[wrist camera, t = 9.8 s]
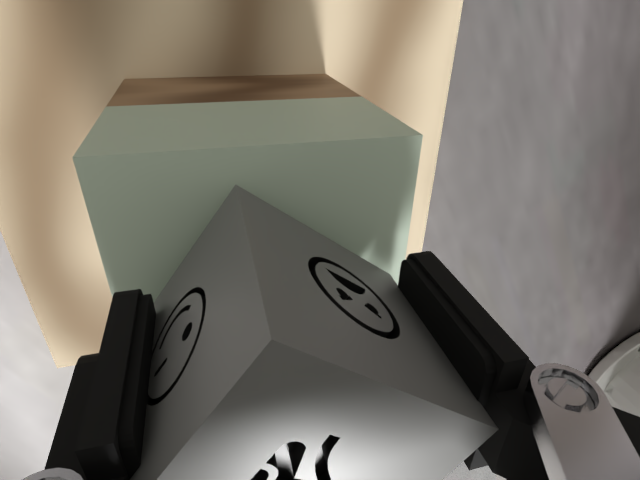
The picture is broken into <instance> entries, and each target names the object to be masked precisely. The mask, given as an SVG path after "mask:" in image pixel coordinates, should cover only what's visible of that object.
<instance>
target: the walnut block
mask: <svg viewBox="0 0 640 480" xmlns="http://www.w3.org/2000/svg"><path fill="white" fill-rule="evenodd" d="M336 97H361V96H360V95H359V94H357V93H356V92H354V91H352V90H351V89H349V88H348V87H346V86H344V85H343V84H341V83H340V82H338V81H337V80H335V79H333V78H332V77H330V76H329V75H327V74H295V75H256V76H216V77H177V78H138V79H124V80H123V82H122V83H121V85H120V86H119V88H118V89H117V91H116V92H115V94H114V95H113V97H112V98H111V100H110V101H109V103H108V104H107V106H132V105H158V104H183V103H209V102H234V101H260V100H285V99H311V98H336ZM107 106H106V107H107Z"/></svg>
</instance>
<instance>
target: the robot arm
mask: <svg viewBox="0 0 640 480" xmlns="http://www.w3.org/2000/svg"><path fill="white" fill-rule="evenodd" d="M398 288H399V289H400V291H401V292H402V293H403V295H404V296H405V298H406V299H407V301H408V302H409V303H410V305H411V306H412V308H413V309H414V311H415V312H416V314H417V315H418V316H419V318H420V319H421V321H422V322H423V324H424V325H425V326H426V328H427V329H428V331H429V332H430V334H431V335H432V336H433V338H434V339H435V341H436V342H437V344H438V345H439V346H440V348H441V349H442V351H443V352H444V354H445V355H446V356H447V358H448V359H449V361H450V362H451V364H452V365H453V366H454V368H455V369H456V371H457V372H458V374H459V375H460V376H461V378H462V379H463V381H464V382H465V384H466V385H467V386H468V388H469V389H470V391H471V392H472V394H473V395H474V396H475V398H476V399H477V401H478V402H480V403H481V405H482V406H483V408H484V409H485V410H486V412H487V413H488V415H489V416H490V418H491V419H492V420H493V422H494V423H495V425H496V426H497V428H498V430H497V431H496V432H495V433H494V434H493V435H492V436H491V437H490V438H489V439H487V440H486V441H485V442H484V443H483V444H482V445H481V446H480V447H479V448H477V449H476V450H475V451H474V452H473V453H472V454H471V455H470V456H469V457H467V458H466V459H465V460H464V462H465V464H466V466H467V467H468V469H469V470H472V469H476V468H479V467H483V466H487V465H488V466H489V467H490V469H491V471H492V472H493V473H495V474H496V477H497V480H640V332H639V333H637V334H635V335H633V336H632V337H630V338H628V339H627V340H625V341H623V342H622V343H621V344H619V345H618V346H617V347H615V348H614V349H613V350H612V351H610V352H609V353H608V354H607V355H606V356H605V357H604V358H603V359H602V360H601V361H600V362H599V363H598V364H597V365H596V366H595V367H594V369H593V370H592V371H591V373H590V374H589V375H588V376H587V375H586V374H584V373H582V372H581V371H579V370H577V369H574V368H572V367H569V366H566V365H561V364H557V363H545V364H542V365H539V366H537V367H535V366H534V365H533V363H532V362H531V361H530V360H529V357H528V356H527V355H526V354H525V353H524V352H523V351H522V350H521V349H520V347H519V346H518V345H517V344H516V343H515V342H514V341H513V340H512V339H511V338H510V337H509V335H508V334H507V333H506V332H505V331H504V330H503V329H502V328H501V327H500V326H499V325H498V323H497V322H496V321H495V320H494V319H493V318H492V317H491V316H490V315H489V314H488V313H487V311H486V310H485V309H484V308H483V307H482V306H481V305H480V304H479V303H478V302H477V301H476V300H475V298H474V297H473V296H472V295H471V294H470V293H469V292H468V291H467V290H466V289H465V288H464V286H463V285H462V284H461V283H460V282H459V281H458V280H457V279H456V278H455V277H454V276H453V274H452V273H451V272H450V271H449V270H448V269H447V268H446V267H445V266H444V265H443V264H442V262H441V261H440V260H439V259H438V258H437V257H436V256H435V255H434V254H433V253H432V252H431V251H426V252H418V253H411V254H409V255H408V256H407V259H406V260H403V261H402V262H401V267H400V274H399V282H398ZM155 319H156V311H155V307H154V302H153V298H152V295H151V294H145V295H143V293H142V290H141V289H136V290H128V291H120V292H115V293H114V294H113V298H112V302H111V306H110V310H109V314H108V318H107V322H106V326H105V330H104V334H103V338H102V342H101V346H100V350H99V353H95V354H89V355H83V356H81V357H80V358H79V359H78V361H77V363H76V366H75V369H74V373H73V376H72V379H71V383H70V386H69V389H68V393H67V396H66V399H65V403H64V406H63V409H62V413H61V416H60V419H59V423H58V426H57V429H56V433H55V436H54V439H53V443H52V446H51V450H50V453H49V456H48V460H47V463H46V466H45V470H42V471H40V472H37V473H35V474H32V475H30V476H28V477H26V478H24V479H23V480H130V478H131V477H132V476H133V475H134V473H135V472H136V471H137V470H138V468H139V467H140V465H141V455H142V445H143V435H144V426H145V416H146V406H147V403H148V401H149V399H150V396H149V395H148V387H149V377H150V368H151V360H152V348H153V339H154V329H155Z"/></svg>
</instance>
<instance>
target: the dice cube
mask: <svg viewBox="0 0 640 480" xmlns="http://www.w3.org/2000/svg"><path fill="white" fill-rule="evenodd" d="M154 307H155V311H156V319H155V329H154V339H153V348H152V360H151V368H150V377H149V387H148V395H149V396H150V399H149V401H148V403H147V406H146V416H145V426H144V435H143V445H142V455H141V465H140V467H139V468H138V470H137V471H136V472H135V473H134V475H133V476H132V477H131V478H130V480H443V479H444V478H445V477H446V476H448V475H449V474H450V473H451V472H452V471H453V470H454V469H455V468H456V467H458V466H459V465H460V464H461V463H462V462H463V461H464V460H465V459H466V458H467V457H469V456H470V455H471V454H472V453H473V452H474V451H475V450H476V449H477V448H479V447H480V446H481V445H482V444H483V443H484V442H485V441H486V440H487V439H489V438H490V437H491V436H492V435H493V434H494V433H495V432H496V431H497V430H498V428H497V426H496V425H495V423H494V422H493V420H492V419H491V418H490V416H489V415H488V413H487V412H486V410H485V409H484V408H483V406H482V405H481V403H480V402H478V401H477V399H476V398H475V396H474V395H473V394H472V392H471V391H470V389H469V388H468V386H467V385H466V384H465V382H464V381H463V379H462V378H461V376H460V375H459V374H458V372H457V371H456V369H455V368H454V366H453V365H452V364H451V362H450V361H449V359H448V358H447V356H446V355H445V354H444V352H443V351H442V349H441V348H440V346H439V345H438V344H437V342H436V341H435V339H434V338H433V336H432V335H431V334H430V332H429V331H428V329H427V328H426V326H425V325H424V324H423V322H422V321H421V319H420V318H419V316H418V315H417V314H416V312H415V311H414V309H413V308H412V306H411V305H410V303H409V302H408V301H407V299H406V298H405V296H404V295H403V293H402V292H401V291H400V289H399V288H398V285H397V283H396V282H395V281H394V279H393V278H392V276H391V275H390V274H389V273H387V272H385V271H384V270H382V269H380V268H379V267H377V266H375V265H373V264H372V263H370V262H368V261H366V260H365V259H363V258H361V257H360V256H358V255H356V254H354V253H353V252H351V251H349V250H348V249H346V248H344V247H342V246H341V245H339V244H337V243H336V242H334V241H332V240H330V239H329V238H327V237H325V236H324V235H322V234H320V233H318V232H317V231H315V230H313V229H312V228H310V227H308V226H306V225H305V224H303V223H301V222H300V221H298V220H296V219H294V218H293V217H291V216H289V215H288V214H286V213H284V212H282V211H281V210H279V209H277V208H276V207H274V206H272V205H270V204H269V203H267V202H265V201H264V200H262V199H260V198H258V197H257V196H255V195H253V194H251V193H250V192H248V191H246V190H245V189H243V188H241V187H239V186H238V185H235V186H234V187H233V189H232V190H231V192H230V193H229V195H228V196H227V198H226V199H225V200H224V202H223V203H222V205H221V206H220V208H219V209H218V211H217V212H216V213H215V215H214V216H213V218H212V219H211V221H210V222H209V223H208V225H207V226H206V228H205V229H204V231H203V232H202V234H201V235H200V236H199V238H198V239H197V241H196V242H195V244H194V245H193V247H192V248H191V249H190V251H189V252H188V254H187V255H186V257H185V258H184V260H183V261H182V262H181V264H180V265H179V267H178V268H177V270H176V271H175V272H174V274H173V275H172V277H171V278H170V280H169V281H168V283H167V284H166V285H165V287H164V288H163V290H162V291H161V293H160V294H159V296H158V297H157V298H156V300H155V301H154Z"/></svg>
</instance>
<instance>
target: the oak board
mask: <svg viewBox="0 0 640 480" xmlns="http://www.w3.org/2000/svg"><path fill="white" fill-rule="evenodd" d="M462 5H463V0H0V231H1V233H2V235H3V238H4V240H5V243H6V245H7V248H8V250H9V252H10V255H11V257H12V260H13V262H14V265H15V267H16V269H17V272H18V274H19V277H20V279H21V282H22V284H23V286H24V289H25V291H26V294H27V296H28V299H29V301H30V304H31V306H32V308H33V311H34V313H35V316H36V318H37V321H38V323H39V325H40V328H41V330H42V333H43V335H44V338H45V340H46V342H47V345H48V347H49V350H50V352H51V355H52V357H53V359H54V362H55V364H56V367H57V368H61V367H67V366H73V365H76V363H77V361H78V359H79V358H80V357H81V356H83V355H89V354H95V353H99V350H100V346H101V342H102V338H103V334H104V330H105V326H106V322H107V318H108V314H109V310H110V306H111V302H112V295H111V291H110V288H109V284H108V281H107V277H106V274H105V270H104V267H103V263H102V260H101V256H100V253H99V249H98V246H97V242H96V239H95V235H94V232H93V228H92V225H91V221H90V218H89V214H88V211H87V207H86V204H85V200H84V197H83V193H82V190H81V186H80V183H79V179H78V176H77V172H76V169H75V165H74V162H73V158H72V157H73V156H74V154H75V153H76V151H77V150H78V148H79V147H80V145H81V144H82V142H83V141H84V139H85V138H86V136H87V135H88V133H89V132H90V130H91V128H92V127H93V125H94V124H95V122H96V121H97V119H98V118H99V116H100V115H101V113H102V112H103V110H104V109H105V107H106V106H107V104H108V103H109V101H110V100H111V98H112V97H113V95H114V94H115V92H116V91H117V89H118V88H119V86H120V85H121V83H122V82H123V80H124V79H138V78H177V77H216V76H256V75H295V74H327V75H329V76H330V77H332V78H333V79H335V80H337V81H338V82H340V83H341V84H343V85H344V86H346V87H348V88H349V89H351V90H352V91H354V92H356V93H357V94H359V95H360V96H362V97H363V98H365V99H367V100H368V101H370V102H371V103H373V104H375V105H376V106H378V107H379V108H381V109H382V110H384V111H386V112H387V113H389V114H390V115H392V116H394V117H395V118H397V119H398V120H400V121H401V122H403V123H405V124H406V125H408V126H409V127H411V128H413V129H414V130H416V131H417V132H419V133H420V134H422V135H423V139H422V145H421V152H420V159H419V166H418V173H417V180H416V187H415V194H414V201H413V208H412V215H411V222H410V229H409V236H408V243H407V250H406V257H405V260H406V259H407V256H408V255H409V254H411V253H418V252H422V247H423V241H424V235H425V229H426V223H427V217H428V210H429V204H430V198H431V192H432V186H433V180H434V174H435V168H436V162H437V156H438V150H439V144H440V138H441V132H442V126H443V120H444V114H445V108H446V102H447V96H448V90H449V84H450V77H451V71H452V65H453V59H454V53H455V47H456V41H457V35H458V29H459V23H460V17H461V11H462Z"/></svg>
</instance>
